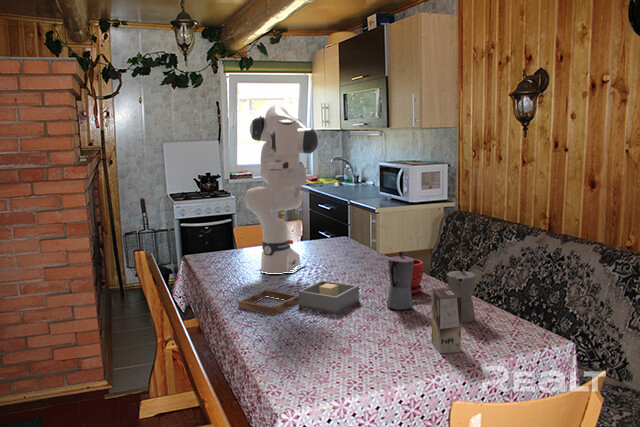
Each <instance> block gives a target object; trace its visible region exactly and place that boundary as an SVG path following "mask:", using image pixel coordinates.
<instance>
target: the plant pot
mask: <svg viewBox="0 0 640 427" xmlns="http://www.w3.org/2000/svg"><path fill="white" fill-rule="evenodd" d="M413 260H414V264H413V271H412V279H411V284H410V287H411V295H415V294H417V293H420V291H422V285H421V282H422V280H423V277H424V276H423V275H424V262H423V261H422V260H420V259H417V258H416V259H415V258H413Z"/></svg>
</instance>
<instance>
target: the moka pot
mask: <svg viewBox="0 0 640 427" xmlns="http://www.w3.org/2000/svg"><path fill="white" fill-rule="evenodd" d="M398 254H399V255H397V256H391V257H390V256H389V257H388V258H387V259H388V262H387V263H388V272H389V281H390V283H389V292H388V296H387V303H386V306H387V307H388V308H389V309H392V310H398V311H399V310H400V311H402V310H403V311H404V310H410V309H412V308H413V299H412V296H413V295H412V294H411V287H410V284H411V279H412V271H413V264H414V260H413V259H414V258H412V257H410V256H406V255H405V256H404V251H399V252H398Z"/></svg>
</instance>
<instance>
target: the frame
mask: <svg viewBox="0 0 640 427" xmlns="http://www.w3.org/2000/svg"><path fill="white" fill-rule="evenodd" d="M265 296H269V297H274V298H279V299H284V300H286V301H284V300H283V301H282V302H280V303H278V304H276V305H274V306H269V305H265V304H260V303H256V302H255V301H257V300H259V299H261V298H263V299H265V298H264V297H265ZM279 299H278V300H279ZM261 300H262V299H261ZM259 301H260V300H259ZM253 302H254V303H253ZM257 302H258V301H257ZM298 302H299V301H298V294H297V295H296V294H292V293H285V292H280V291H273V290H268V289H263V290H262V291H260V292H257V293H255V294H253V295H250V296H247V297H245V298H243V299H241V300H238V301H237V305H238V306H237V307H238V309H240V308H243V309H242V310H245V309H248V310H247V311H250V310H253V311H252V312H255V311H258V312H257V313H260V312H263V313H262V314H265V313H268V314H267V315H270V314H273V315H272V316H275V315H277V314H279V313H281V312H283V311H285V310H287V309H289V308H291V307H293V306H295V305H297V304H299V303H298ZM296 303H297V304H296ZM294 304H295V305H294ZM292 305H293V306H292ZM290 306H291V307H290ZM288 307H289V308H288ZM286 308H287V309H286ZM284 309H285V310H284ZM282 310H283V311H282ZM280 311H281V312H280ZM278 312H279V313H278ZM276 313H277V314H276ZM274 314H275V315H274Z"/></svg>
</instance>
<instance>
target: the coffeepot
mask: <svg viewBox="0 0 640 427" xmlns="http://www.w3.org/2000/svg"><path fill="white" fill-rule="evenodd" d="M476 278H477V274H475V273H474V272H471V271H466V270H465V267H464V265H459V266H458V270H455V271H454V270H453V271H452V270H451V271H449V272H448V273H446V279H447V287H448V288H447V289H452V290H453V291H455V292H456V293H457V294H458V295H459V296H460V297H461V324H469V323H473V322H474V321H475V319H476V314H475V309H474V308H475V307H474V301H473V300H472V296H473V295H474V291H475V286H476V285H475V284H476Z"/></svg>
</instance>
